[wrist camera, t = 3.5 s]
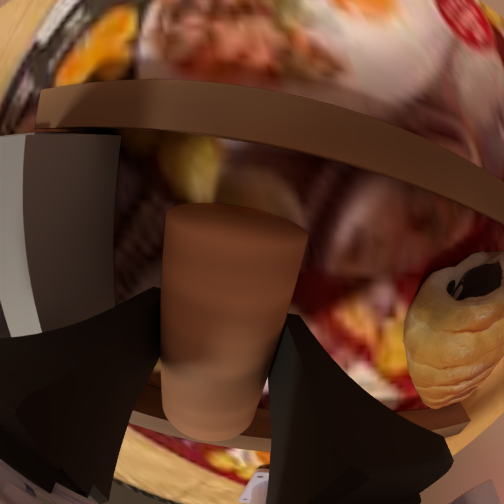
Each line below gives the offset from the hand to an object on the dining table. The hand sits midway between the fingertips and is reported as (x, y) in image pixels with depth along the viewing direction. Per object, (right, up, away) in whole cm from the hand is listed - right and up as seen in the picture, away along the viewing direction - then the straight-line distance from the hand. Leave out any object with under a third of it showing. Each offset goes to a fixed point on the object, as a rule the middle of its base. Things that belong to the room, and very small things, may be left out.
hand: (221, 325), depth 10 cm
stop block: (-6, +2, +1) cm, 6 cm away
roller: (0, 0, +1) cm, 1 cm away
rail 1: (+6, +6, -1) cm, 9 cm away
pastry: (+12, -1, +2) cm, 12 cm away
